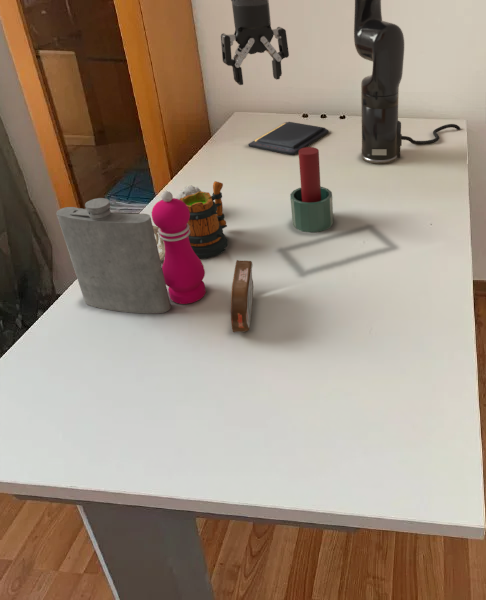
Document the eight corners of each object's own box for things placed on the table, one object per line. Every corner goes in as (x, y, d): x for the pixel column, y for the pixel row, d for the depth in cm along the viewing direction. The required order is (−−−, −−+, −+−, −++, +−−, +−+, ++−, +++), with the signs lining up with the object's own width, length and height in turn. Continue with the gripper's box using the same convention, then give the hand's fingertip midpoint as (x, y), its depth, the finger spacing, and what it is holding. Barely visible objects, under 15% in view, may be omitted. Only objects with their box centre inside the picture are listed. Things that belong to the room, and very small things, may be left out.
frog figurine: (188, 225, 134) (182, 195, 130) (173, 213, 138) (167, 184, 134) (213, 216, 137) (208, 186, 133) (198, 205, 141) (192, 176, 137)
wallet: (292, 149, 164) (245, 139, 170) (293, 156, 165) (246, 146, 171) (331, 125, 178) (286, 117, 184) (331, 132, 179) (287, 124, 185)
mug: (208, 264, 120) (199, 210, 114) (167, 252, 124) (155, 199, 117) (248, 235, 130) (241, 183, 123) (208, 224, 134) (200, 174, 127)
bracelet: (128, 270, 119) (118, 233, 114) (158, 251, 124) (150, 215, 120) (143, 275, 117) (134, 238, 112) (173, 256, 123) (166, 220, 118)
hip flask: (173, 303, 110) (150, 200, 98) (163, 317, 106) (138, 211, 95) (91, 294, 112) (59, 191, 101) (78, 307, 109) (43, 203, 97)
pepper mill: (216, 287, 114) (197, 185, 102) (194, 309, 108) (172, 203, 97) (181, 280, 116) (159, 180, 104) (159, 301, 110) (133, 198, 99)
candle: (317, 216, 136) (313, 145, 126) (325, 224, 133) (322, 152, 124) (300, 220, 134) (295, 149, 125) (308, 228, 131) (303, 155, 122)
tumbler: (322, 212, 138) (320, 182, 134) (340, 228, 132) (339, 197, 128) (286, 220, 135) (283, 191, 131) (303, 237, 129) (300, 207, 125)
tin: (239, 290, 113) (234, 250, 108) (257, 290, 113) (252, 249, 108) (232, 343, 101) (225, 300, 96) (252, 342, 101) (246, 299, 96)
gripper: (222, 7, 123) (233, 90, 132) (289, 0, 129) (295, 80, 138) (211, 1, 128) (222, 81, 138) (275, -5, 134) (282, 72, 143)
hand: (258, 81), depth 138 cm, fingers open, 8 cm apart
